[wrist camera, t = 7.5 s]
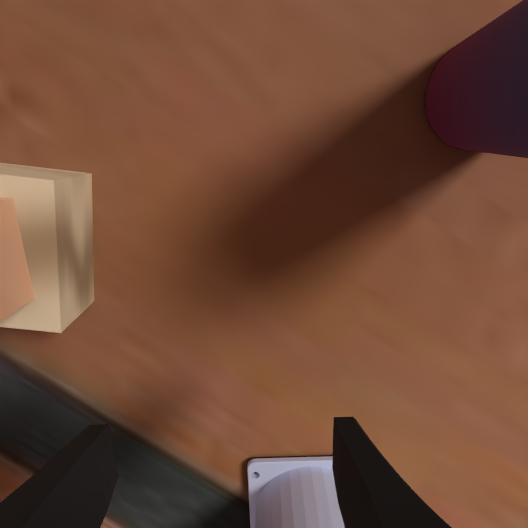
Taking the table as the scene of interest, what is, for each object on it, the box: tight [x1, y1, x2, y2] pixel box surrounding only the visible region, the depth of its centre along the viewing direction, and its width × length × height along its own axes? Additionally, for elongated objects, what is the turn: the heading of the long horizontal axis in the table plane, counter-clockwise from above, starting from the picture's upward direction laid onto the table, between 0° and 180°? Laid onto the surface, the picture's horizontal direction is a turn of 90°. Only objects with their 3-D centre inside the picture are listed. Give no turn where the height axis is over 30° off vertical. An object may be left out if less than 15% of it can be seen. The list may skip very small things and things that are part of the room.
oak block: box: [0, 163, 94, 333], centre depth 19 cm, size 7×7×4 cm
